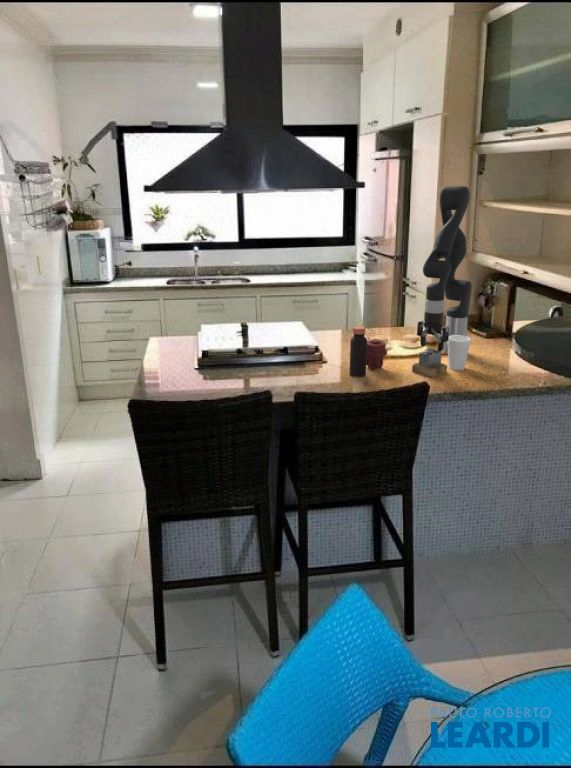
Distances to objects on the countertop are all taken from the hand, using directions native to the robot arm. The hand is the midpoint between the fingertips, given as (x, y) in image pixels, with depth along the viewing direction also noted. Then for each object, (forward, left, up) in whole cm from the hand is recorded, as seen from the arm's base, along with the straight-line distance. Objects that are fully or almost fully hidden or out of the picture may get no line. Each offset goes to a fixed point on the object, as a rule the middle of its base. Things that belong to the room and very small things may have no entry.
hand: (431, 348), depth 247 cm
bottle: (+25, -17, -10) cm, 32 cm away
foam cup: (-13, +4, -10) cm, 17 cm away
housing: (0, 0, -7) cm, 7 cm away
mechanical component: (+14, -18, -10) cm, 25 cm away
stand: (0, 0, -10) cm, 10 cm away
